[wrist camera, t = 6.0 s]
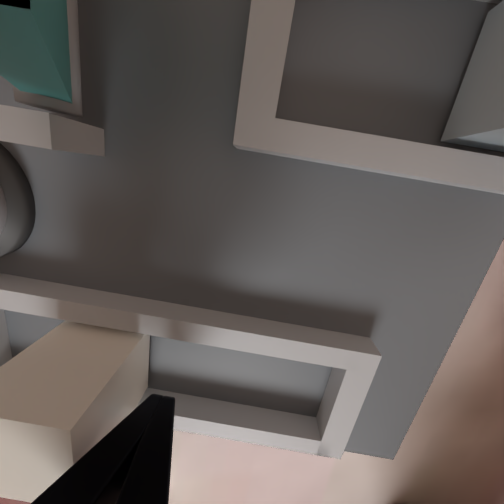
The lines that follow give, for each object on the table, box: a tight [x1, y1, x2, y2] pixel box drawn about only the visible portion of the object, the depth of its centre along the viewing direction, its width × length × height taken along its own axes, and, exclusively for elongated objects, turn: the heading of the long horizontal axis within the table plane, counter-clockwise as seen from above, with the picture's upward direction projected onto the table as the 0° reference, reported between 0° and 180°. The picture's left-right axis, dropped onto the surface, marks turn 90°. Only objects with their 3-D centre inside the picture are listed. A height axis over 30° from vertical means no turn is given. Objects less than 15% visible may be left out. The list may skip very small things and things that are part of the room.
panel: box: [0, 0, 504, 460], centre depth 9 cm, size 20×18×4 cm
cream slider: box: [0, 320, 150, 503], centre depth 8 cm, size 3×3×4 cm
